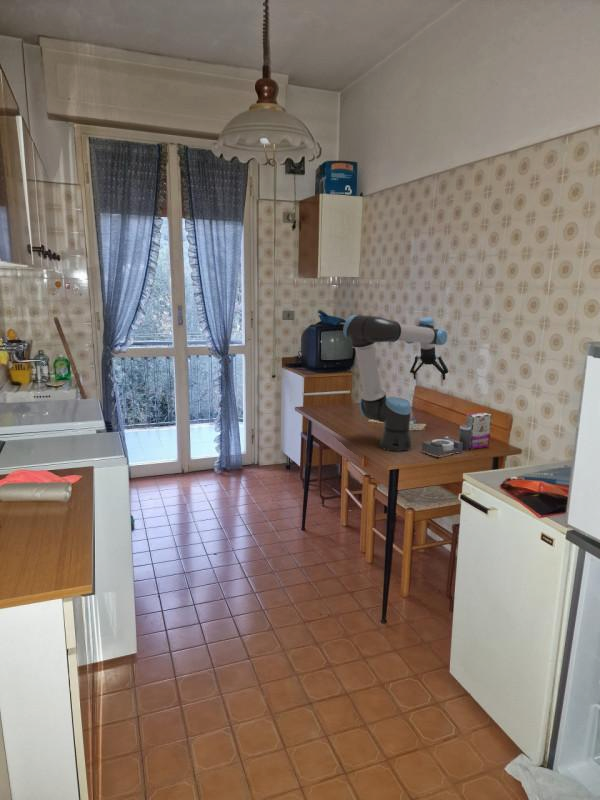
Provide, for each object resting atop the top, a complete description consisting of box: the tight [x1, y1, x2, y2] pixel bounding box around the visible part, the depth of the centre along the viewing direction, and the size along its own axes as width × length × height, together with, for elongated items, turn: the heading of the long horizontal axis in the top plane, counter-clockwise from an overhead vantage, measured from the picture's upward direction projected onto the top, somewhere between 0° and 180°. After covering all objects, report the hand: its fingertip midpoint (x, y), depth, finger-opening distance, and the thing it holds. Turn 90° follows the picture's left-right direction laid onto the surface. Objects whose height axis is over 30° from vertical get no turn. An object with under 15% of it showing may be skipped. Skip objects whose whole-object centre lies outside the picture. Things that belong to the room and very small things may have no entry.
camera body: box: [421, 436, 463, 456], centre depth 252 cm, size 16×10×6 cm, turn 122°
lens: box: [458, 424, 471, 451], centre depth 257 cm, size 5×5×12 cm
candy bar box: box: [465, 412, 492, 450], centre depth 260 cm, size 11×5×16 cm, turn 114°
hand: (429, 385), depth 291 cm, fingers open, 13 cm apart
